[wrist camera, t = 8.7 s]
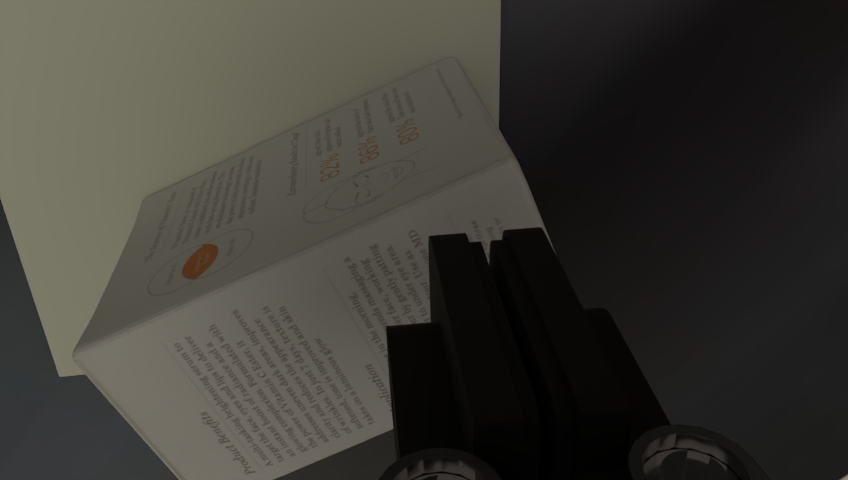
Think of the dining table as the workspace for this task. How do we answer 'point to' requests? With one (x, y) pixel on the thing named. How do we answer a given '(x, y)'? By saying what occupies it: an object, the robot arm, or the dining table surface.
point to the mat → (182, 108)
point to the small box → (296, 278)
